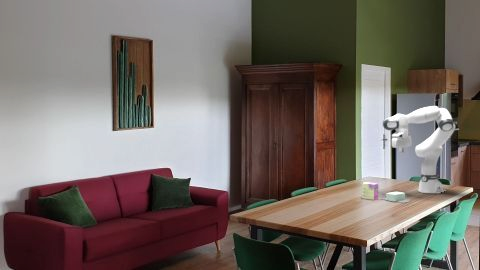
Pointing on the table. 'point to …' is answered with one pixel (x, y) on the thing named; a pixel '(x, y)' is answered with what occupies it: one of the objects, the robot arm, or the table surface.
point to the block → (395, 196)
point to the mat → (398, 201)
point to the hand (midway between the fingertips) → (401, 153)
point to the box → (370, 191)
